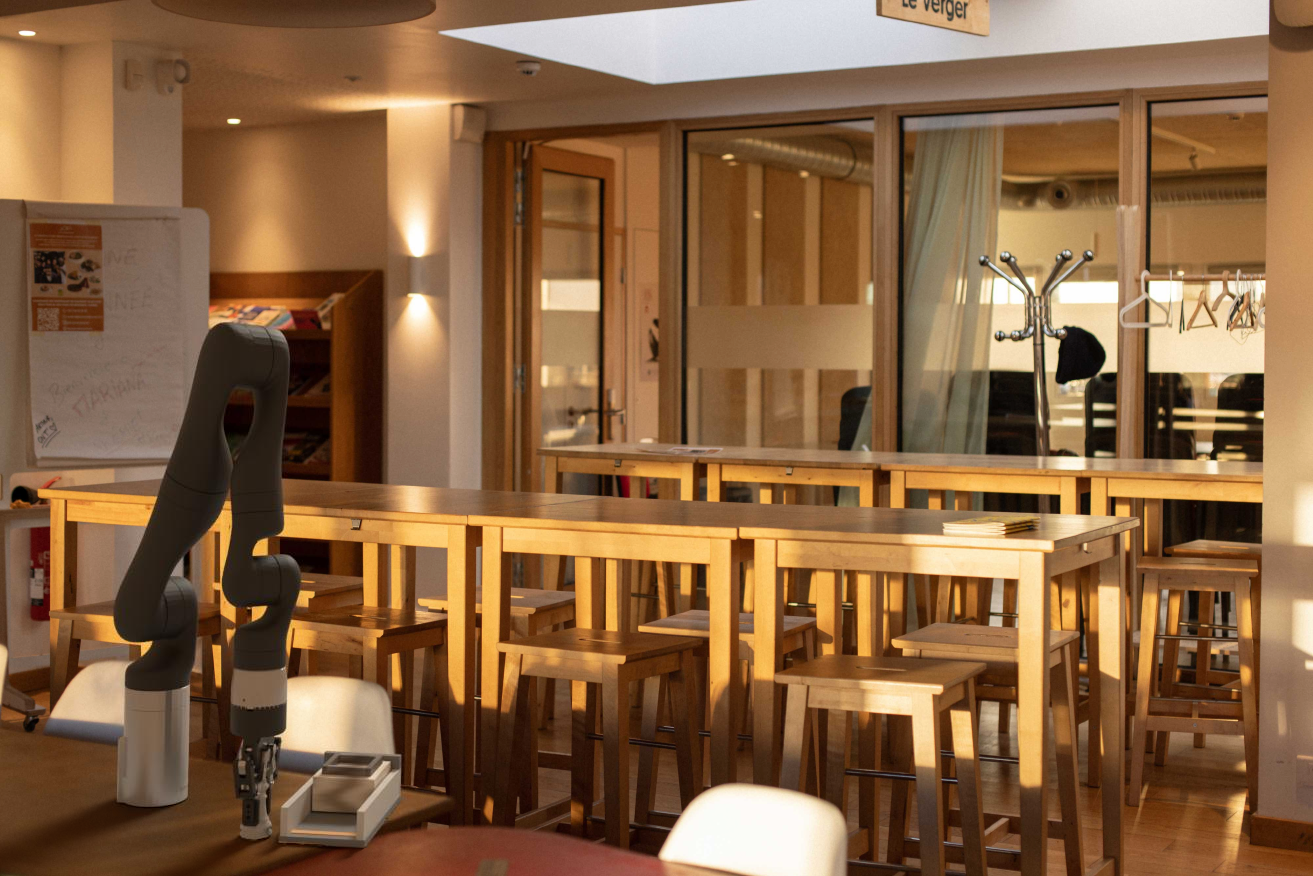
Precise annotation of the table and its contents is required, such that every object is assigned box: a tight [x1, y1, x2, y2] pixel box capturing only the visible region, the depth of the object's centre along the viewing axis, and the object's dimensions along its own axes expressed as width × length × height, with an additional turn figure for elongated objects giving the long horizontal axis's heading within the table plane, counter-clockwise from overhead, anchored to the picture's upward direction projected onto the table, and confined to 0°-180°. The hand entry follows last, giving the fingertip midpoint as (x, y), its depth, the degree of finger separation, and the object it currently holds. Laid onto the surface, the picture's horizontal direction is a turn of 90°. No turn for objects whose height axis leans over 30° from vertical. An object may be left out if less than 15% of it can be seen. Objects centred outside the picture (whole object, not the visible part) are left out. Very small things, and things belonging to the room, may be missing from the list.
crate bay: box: [278, 750, 402, 849], centre depth 207 cm, size 12×22×7 cm, turn 177°
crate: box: [312, 753, 391, 813], centre depth 212 cm, size 9×10×6 cm
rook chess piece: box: [238, 779, 273, 839], centre depth 199 cm, size 4×4×8 cm
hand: (256, 819), depth 200 cm, fingers open, 4 cm apart
